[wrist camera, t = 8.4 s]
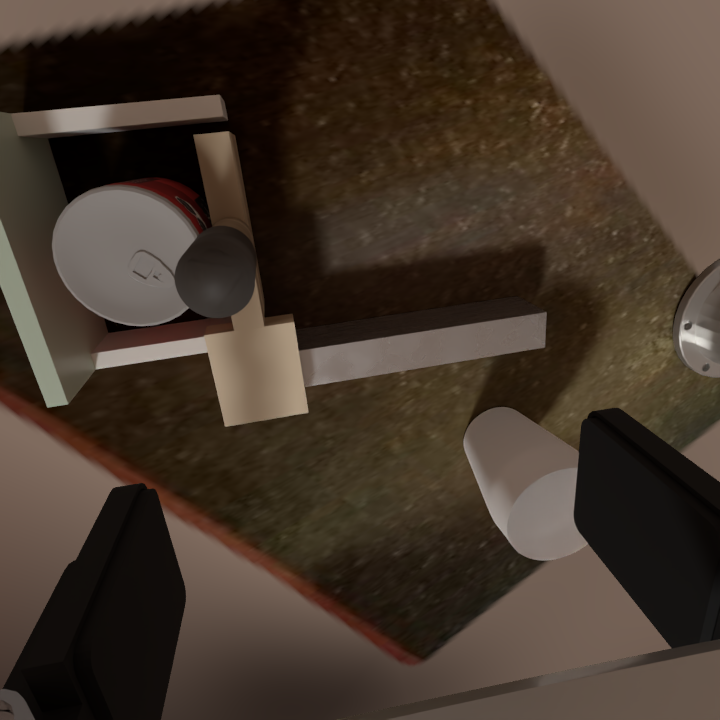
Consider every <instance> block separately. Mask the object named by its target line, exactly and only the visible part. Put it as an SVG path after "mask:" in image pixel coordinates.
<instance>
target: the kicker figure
mask: <svg viewBox="0 0 720 720" xmlns="http://www.w3.org/2000/svg"><path fill="white" fill-rule="evenodd" d="M193 136H194V141H195V146H196V150H197V155H198V160H199V165H200V170H201V174H202V179H203V184H204V189H205V194H206V198H207V203H208V208H209V213H210V218H211V222H212V227H211V228H208V229H206V230H204V231H203V232H202V233H201V234H199V235H198V237H197V238H196V239H195V240H194V242H193V243H192V244H191V245H190V247H189V248H188V249H187V250H186V252H185V253H184V254H183V255H182V256H181V258H180V259H179V261H178V263H177V266H176V269H175V286H176V289H177V292H178V294H179V296H180V298H181V299H182V301H183V302H184V303H185V304H186V305H187V306H188V307H189V308H190V309H191V310H193V311H194V312H196V313H198V314H200V315H202V316H206V317H210V318H225V317H229V316H231V318H232V323H225V324H218V325H211V326H207V328H206V331H205V334H204V338H205V342H206V346H207V351H208V355H209V359H210V363H211V368H212V372H213V376H214V381H215V385H216V389H217V393H218V398H219V402H220V406H221V410H222V415H223V419H224V423H225V427H227V426H233V425H239V424H245V423H250V422H256V421H262V420H268V419H274V418H280V417H285V416H291V415H297V414H303V413H308V406H307V400H306V394H305V387H304V381H303V375H302V368H301V362H300V356H299V349H298V343H297V337H296V330H295V324H294V318H293V314H286V315H279V316H273V317H266V318H265V315H264V295H263V289H262V283H261V278H260V272H259V267H258V261H257V255H256V250H255V244H254V239H253V233H252V227H251V222H250V216H249V211H248V205H247V200H246V194H245V188H244V183H243V177H242V172H241V166H240V160H239V155H238V149H237V144H236V138H235V135H234V134H232V133H231V132H229V131H227V132H217V133H207V134H197V135H193Z"/></svg>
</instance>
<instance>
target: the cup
mask: <svg viewBox="0 0 720 720" xmlns="http://www.w3.org/2000/svg"><path fill="white" fill-rule="evenodd" d="M464 449H465V452H466V455H467V457H468V460H469V462H470V465H471V467H472V470H473V472H474V475H475V477H476V480H477V482H478V485H479V487H480V490H481V492H482V495H483V497H484V500H485V502H486V505H487V507H488V510H489V512H490V514H491V516H492V518H493V520H494V522H495V523H496V525H497V526H498V527H499V529H500V530H501V531H502V532H503V534H504V535H505V536H506V538H507V539H508V541H509V542H510V543H511V545H512V546H513V547H514V548H515V550H516V551H518V552H519V553H520V554H522V555H523V556H525V557H528V558H530V559H534V560H554V559H559V558H562V557H566V556H568V555H571V554H573V553H575V552H577V551H579V550H580V549H582V548H583V547H585V546H586V545H588V543H587V541H586V540H585V539H584V538H583V536H582V535H581V534H580V533H579V531H578V530H577V528H576V525H575V522H574V503H575V492H576V480H577V469H578V458H579V452H578V451H577V450H576V449H574V448H573V447H571V446H570V445H568V444H567V443H565V442H564V441H562V440H561V439H559V438H557V437H556V436H554V435H553V434H551V433H550V432H548V431H547V430H545V429H544V428H542V427H541V426H539V425H538V424H536V423H535V422H533V421H532V420H530V419H529V418H527V417H526V416H524V415H522V414H521V413H519V412H518V411H516V410H514V409H512V408H508V407H497V408H492V409H489V410H487V411H485V412H483V413H481V414H480V415H478V416H477V417H476V418H475V419H474V420H473V421H472V422H471V423H470V425H469V426H468V428H467V430H466V433H465V436H464Z"/></svg>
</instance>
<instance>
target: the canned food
mask: <svg viewBox="0 0 720 720" xmlns="http://www.w3.org/2000/svg"><path fill="white" fill-rule="evenodd" d="M211 227H212V222H211V218H210V213H209V208H208V204H207V203H206V202H205V201H204V200H203V199H202V197H201V196H200V195H198V194H197V193H196V192H194V191H193V190H192V189H191V188H189V187H187V186H185V185H183V184H181V183H179V182H176V181H173V180H170V179H166V178H158V177H153V178H142V179H136V180H130V181H125V182H119V183H113V184H109V185H105V186H101V187H98V188H94V189H91V190H89V191H87V192H85V193H83V194H82V195H80V196H78V197H77V198H75V199H74V200H73V201H72V202H71V203H70V204H69V205H68V206H66V207H65V209H64V210H63V212H62V213H61V215H60V216H59V218H58V220H57V223H56V225H55V228H54V231H53V239H52V250H53V259H54V262H55V265H56V268H57V271H58V274H59V275H60V277H61V279H62V281H63V282H64V284H65V286H66V287H67V288H68V290H69V291H70V292H71V293H72V294H73V296H74V297H75V298H76V299H77V300H78V301H79V302H81V303H82V304H83V305H84V306H85V307H86V308H88V309H89V310H91V311H93V312H94V313H96V314H97V315H99V316H101V317H103V318H106V319H108V320H111V321H113V322H116V323H121V324H125V325H130V326H151V325H158V324H161V323H165V322H168V321H170V320H172V319H174V318H176V317H178V316H180V315H181V314H182V313H184V312H185V311H186V310H187V309H188V308H189V307H188V306H187V305H186V304H185V303H184V302H183V301H182V299H181V298H180V296H179V294H178V292H177V289H176V286H175V269H176V266H177V263H178V261H179V259H180V258H181V256H182V255H183V254H184V253H185V252H186V250H187V249H188V248H189V247H190V245H191V244H192V243H193V242H194V240H195V239H196V238H197V237H198V235H199V234H201V233H202V232H203V231H204V230H206V229H208V228H211Z"/></svg>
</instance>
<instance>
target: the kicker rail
mask: <svg viewBox="0 0 720 720" xmlns="http://www.w3.org/2000/svg"><path fill="white" fill-rule="evenodd" d="M546 317H547V312H545V311H544V310H542V309H540V308H538V307H536V306H535V305H533V304H531V303H529V302H527V301H526V300H524V299H522V298H520V297H518V296H515V297H508V298H502V299H495V300H488V301H482V302H475V303H468V304H462V305H455V306H448V307H442V308H435V309H428V310H422V311H415V312H409V313H402V314H395V315H389V316H382V317H375V318H369V319H362V320H355V321H349V322H342V323H335V324H329V325H322V326H316V327H309V328H302V329H296V337H297V343H298V349H299V356H300V362H301V368H302V375H303V381H304V387H308V386H314V385H320V384H326V383H332V382H338V381H344V380H350V379H356V378H363V377H369V376H375V375H381V374H387V373H393V372H399V371H405V370H411V369H417V368H423V367H429V366H435V365H441V364H447V363H453V362H460V361H466V360H472V359H478V358H484V357H490V356H496V355H502V354H508V353H514V352H520V351H526V350H532V349H538V348H544V347H545V337H546Z"/></svg>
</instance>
